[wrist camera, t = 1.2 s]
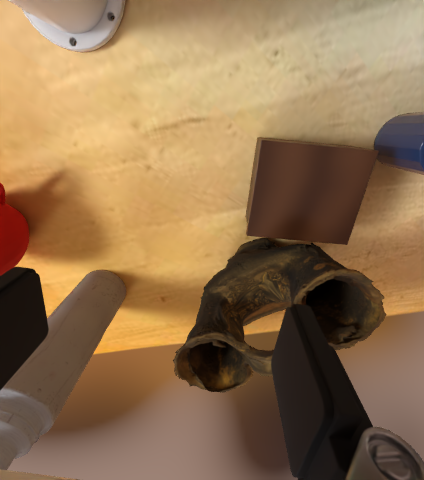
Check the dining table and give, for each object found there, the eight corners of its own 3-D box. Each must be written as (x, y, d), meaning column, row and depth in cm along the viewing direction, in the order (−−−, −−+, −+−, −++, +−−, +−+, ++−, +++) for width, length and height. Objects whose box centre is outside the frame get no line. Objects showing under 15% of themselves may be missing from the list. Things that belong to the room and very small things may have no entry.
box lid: (246, 233, 34) (246, 235, 33) (260, 139, 29) (261, 139, 28) (344, 242, 34) (347, 245, 33) (375, 150, 29) (379, 150, 28)
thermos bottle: (75, 290, 47) (-100, 487, 21) (95, 261, 44) (-78, 447, 19) (113, 312, 49) (-7, 518, 23) (134, 286, 46) (24, 485, 20)
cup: (384, 111, 33) (437, 106, 25) (435, 116, 33) (505, 112, 25) (366, 164, 36) (409, 175, 28) (414, 168, 36) (470, 180, 28)
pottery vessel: (209, 316, 48) (201, 431, 30) (177, 274, 45) (146, 375, 27) (337, 259, 42) (423, 359, 24) (312, 204, 39) (391, 274, 20)
